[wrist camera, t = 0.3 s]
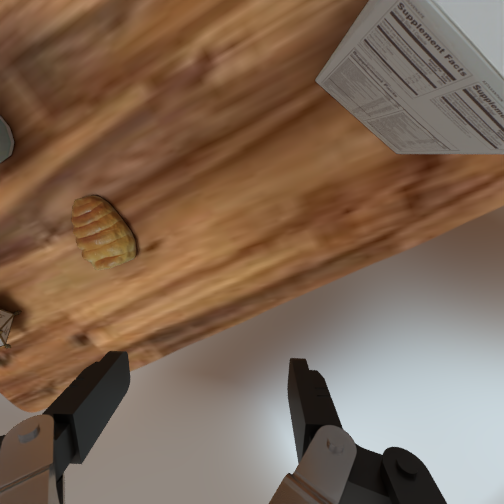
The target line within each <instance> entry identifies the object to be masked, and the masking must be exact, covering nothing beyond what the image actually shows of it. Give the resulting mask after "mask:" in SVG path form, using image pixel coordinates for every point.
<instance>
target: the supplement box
mask: <svg viewBox="0 0 504 504" xmlns="http://www.w3.org/2000/svg"><path fill="white" fill-rule="evenodd" d="M315 81H316V82H317V83H318V84H319V85H320V86H321V87H322V88H324V89H325V90H326V91H327V92H328V93H329V94H330V95H331V96H332V97H334V98H335V99H336V100H337V101H338V102H339V103H340V104H341V105H343V106H344V107H345V108H346V109H347V110H348V111H349V112H350V113H351V114H353V115H354V116H355V117H356V118H357V119H358V120H359V121H360V122H361V123H363V124H364V125H365V126H366V127H367V128H368V129H369V130H370V131H371V132H373V133H374V134H375V135H376V136H377V137H378V138H379V139H380V140H382V141H383V142H384V143H385V144H386V145H387V146H388V147H389V148H391V149H392V150H393V151H394V152H395V153H397V154H504V0H369V1H368V3H367V4H366V6H365V7H364V8H363V10H362V11H361V13H360V14H359V16H358V17H357V19H356V20H355V22H354V23H353V25H352V26H351V28H350V29H349V31H348V32H347V34H346V35H345V37H344V38H343V40H342V41H341V43H340V44H339V46H338V47H337V49H336V50H335V52H334V53H333V54H332V56H331V57H330V59H329V60H328V62H327V63H326V65H325V66H324V68H323V69H322V71H321V72H320V73H319V75H318V76H317V78H316V79H315Z"/></svg>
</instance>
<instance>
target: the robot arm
mask: <svg viewBox="0 0 504 504" xmlns="http://www.w3.org/2000/svg"><path fill="white" fill-rule="evenodd" d="M129 385H130V370H129V360H128V353H127V352H124V351H109V352H108V353H107V354H106V355H105V356H104V357H103V358H102V360H101V361H100V362H95V363H93V364H92V365H90V366H89V367H87V368H86V369H84V370H83V371H82V372H81V373H80V374H79V376H78V377H77V378H76V380H74V381H73V382H72V383H71V384H70V385H69V387H67V388H66V389H65V390H64V391H63V393H62V394H61V395H60V396H59V397H58V398H57V399H56V400H55V401H54V402H53V403H52V404H51V405H50V406H49V407H48V408H47V409H46V411H45V412H44V413H43V414H42V415H37V416H33V417H30V418H28V419H26V420H24V421H22V422H20V423H19V424H17V425H16V426H15V427H13V428H12V429H11V430H10V431H9V432H8V433H7V434H6V435H3V436H0V504H65V476H64V471H65V469H66V468H67V466H68V465H69V463H72V464H82V462H83V461H84V459H85V458H86V456H87V455H88V453H89V451H90V450H91V448H92V447H93V445H94V443H95V442H96V440H97V438H98V437H99V436H100V434H101V432H102V431H103V429H104V428H105V426H106V424H107V423H108V421H109V420H110V418H111V416H112V415H113V413H114V412H115V410H116V408H117V407H118V405H119V404H120V402H121V401H122V399H123V397H124V396H125V394H126V393H127V390H128V388H129ZM288 400H289V407H290V413H291V419H292V425H293V432H294V438H295V444H296V451H297V457H298V463H299V465H298V466H297V468H296V470H295V472H294V473H293V474H290V473H288V474H287V475H286V476H285V477H284V479H283V481H282V482H281V484H280V485H279V487H278V489H277V491H276V493H275V494H274V496H273V497H272V499H271V501H270V502H269V504H447V503H446V501H445V499H444V497H443V496H442V494H441V492H440V490H439V488H438V487H437V485H436V483H435V481H434V480H433V478H432V476H431V474H430V473H429V471H428V469H427V468H426V466H425V465H424V464H423V462H422V461H421V460H420V459H419V458H417V457H416V456H415V455H414V454H412V453H410V452H409V451H407V450H405V449H402V448H399V447H390V448H387V449H386V450H385V451H384V453H383V455H381V454H378V453H375V452H372V451H369V450H367V449H364V448H362V447H360V446H358V445H357V444H355V442H354V440H353V439H352V437H351V436H350V435H349V434H348V433H347V432H346V431H344V430H343V428H342V425H341V423H340V420H339V417H338V415H337V412H336V409H335V406H334V403H333V401H332V398H331V396H330V393H329V390H328V387H327V385H326V382H325V379H324V378H323V377H322V375H321V374H320V373H319V372H318V371H315V370H309V368H308V364H307V361H306V359H298V358H291V359H290V363H289V375H288Z"/></svg>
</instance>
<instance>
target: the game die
mask: <svg viewBox="0 0 504 504" xmlns="http://www.w3.org/2000/svg"><path fill="white" fill-rule="evenodd" d="M21 312H22V311H17V312H15V313H11V312H8V311H6V310H3V309H0V347H2V346H5V347H6V348H11V346H10V345H9V344H6V342H7V339H8V335H9V332H10V328H11V325H12V322H13V318H14V315H17V314H20V313H21Z"/></svg>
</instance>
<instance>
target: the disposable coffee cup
mask: <svg viewBox="0 0 504 504" xmlns="http://www.w3.org/2000/svg"><path fill="white" fill-rule="evenodd" d="M13 146H14V139H13V136H12V133H11V130H10V127H9V126H8V124H7V123H6V122H5V121H4V119H3V118H2V117H1V116H0V163H1V162H2V161H4V160H5V159H6V158H8V157H9V156H11V155H12V151H13Z"/></svg>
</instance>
